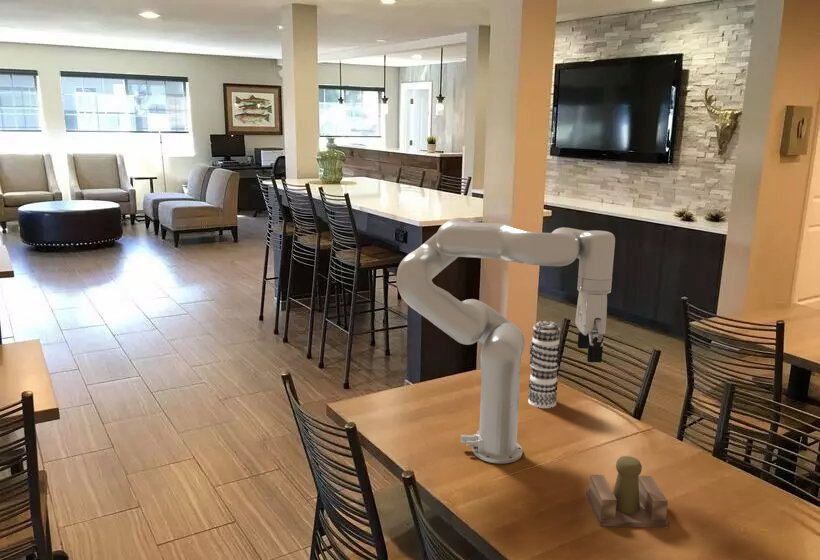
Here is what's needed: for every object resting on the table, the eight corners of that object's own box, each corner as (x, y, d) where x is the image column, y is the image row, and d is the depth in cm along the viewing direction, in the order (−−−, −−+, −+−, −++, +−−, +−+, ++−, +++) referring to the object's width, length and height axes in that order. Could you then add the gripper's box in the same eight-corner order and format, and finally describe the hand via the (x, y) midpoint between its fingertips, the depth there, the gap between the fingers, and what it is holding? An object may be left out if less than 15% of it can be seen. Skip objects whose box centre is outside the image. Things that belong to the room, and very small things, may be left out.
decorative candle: (560, 409, 191) (566, 328, 186) (529, 408, 191) (534, 327, 186) (554, 396, 200) (559, 319, 195) (524, 396, 200) (528, 318, 195)
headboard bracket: (600, 525, 134) (602, 502, 133) (586, 494, 146) (587, 472, 145) (668, 527, 134) (670, 503, 133) (648, 495, 146) (651, 473, 145)
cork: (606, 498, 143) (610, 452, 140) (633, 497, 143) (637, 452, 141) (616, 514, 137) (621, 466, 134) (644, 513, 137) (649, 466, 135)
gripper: (570, 276, 158) (565, 343, 162) (587, 293, 141) (581, 367, 145) (600, 276, 158) (595, 343, 162) (621, 293, 141) (615, 368, 145)
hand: (589, 354), depth 153 cm, fingers open, 9 cm apart
